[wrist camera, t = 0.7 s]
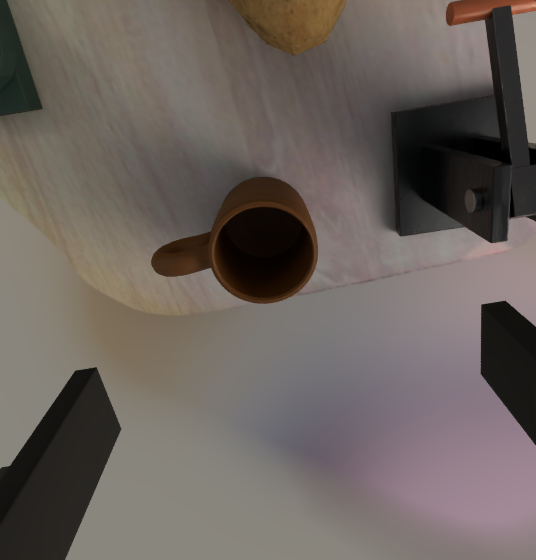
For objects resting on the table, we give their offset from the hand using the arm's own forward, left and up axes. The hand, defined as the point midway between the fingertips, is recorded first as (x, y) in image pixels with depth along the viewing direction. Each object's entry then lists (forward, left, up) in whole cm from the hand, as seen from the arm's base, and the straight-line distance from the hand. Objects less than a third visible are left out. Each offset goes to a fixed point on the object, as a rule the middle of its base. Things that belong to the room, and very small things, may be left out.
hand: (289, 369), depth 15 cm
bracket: (-1, +15, -24) cm, 28 cm away
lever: (-6, +15, -16) cm, 22 cm away
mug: (+1, -3, -24) cm, 25 cm away
